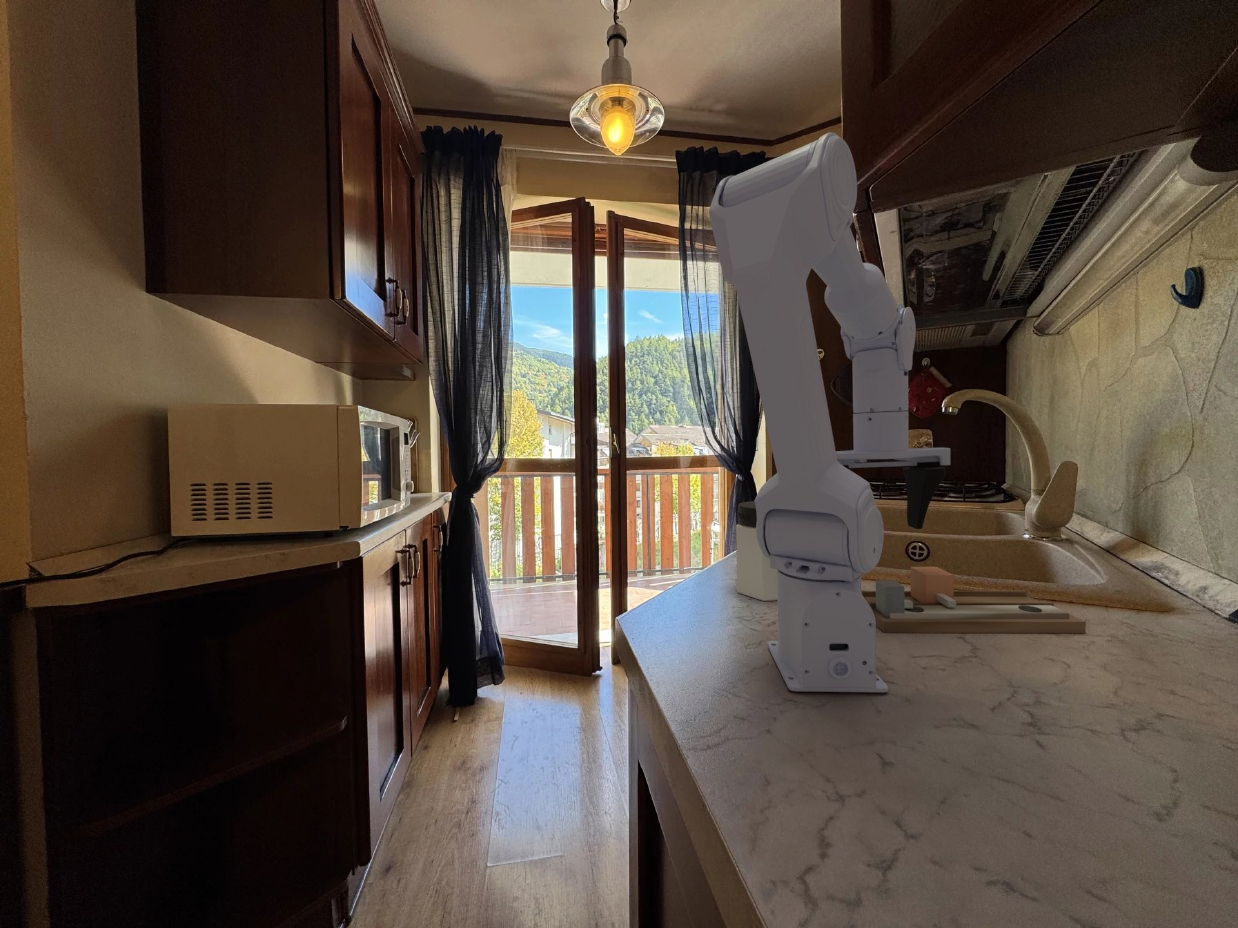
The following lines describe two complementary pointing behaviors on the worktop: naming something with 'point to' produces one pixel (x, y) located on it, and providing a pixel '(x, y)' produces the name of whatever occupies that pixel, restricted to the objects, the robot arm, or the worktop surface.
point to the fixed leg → (890, 598)
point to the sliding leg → (932, 585)
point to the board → (978, 615)
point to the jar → (753, 558)
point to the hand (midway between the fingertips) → (881, 528)
